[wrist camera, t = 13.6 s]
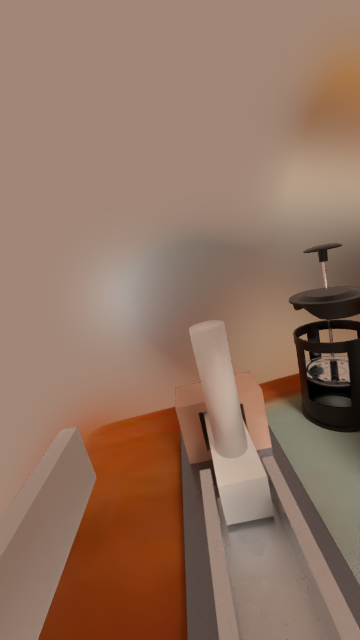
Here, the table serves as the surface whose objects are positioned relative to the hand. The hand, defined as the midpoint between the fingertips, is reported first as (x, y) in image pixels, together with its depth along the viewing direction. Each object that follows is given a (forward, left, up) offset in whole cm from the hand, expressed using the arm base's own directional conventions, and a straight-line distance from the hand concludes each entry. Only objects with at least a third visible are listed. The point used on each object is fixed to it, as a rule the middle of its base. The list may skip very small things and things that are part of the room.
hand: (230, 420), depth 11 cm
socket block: (0, -19, -17) cm, 25 cm away
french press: (-17, -23, -18) cm, 34 cm away
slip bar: (0, -13, -15) cm, 20 cm away
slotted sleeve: (0, -10, -18) cm, 21 cm away
